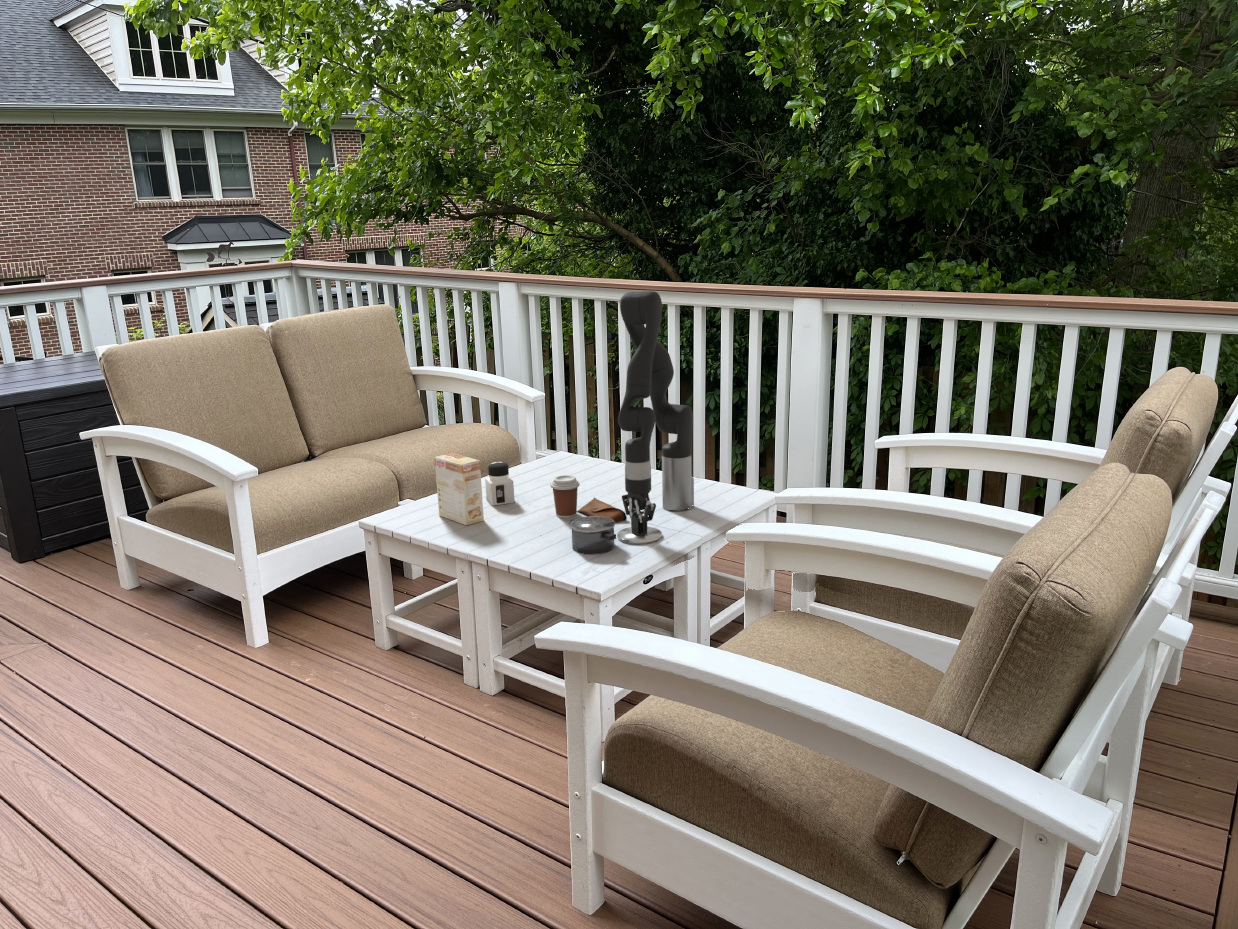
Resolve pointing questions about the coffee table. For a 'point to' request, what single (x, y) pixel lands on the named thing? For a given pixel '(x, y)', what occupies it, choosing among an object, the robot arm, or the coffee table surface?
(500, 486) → the container
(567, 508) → the coffee cup
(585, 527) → the pot
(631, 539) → the lid
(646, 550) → the coffee table surface
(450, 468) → the coffeecake box
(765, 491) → the coffee table surface
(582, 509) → the sunglasses case
